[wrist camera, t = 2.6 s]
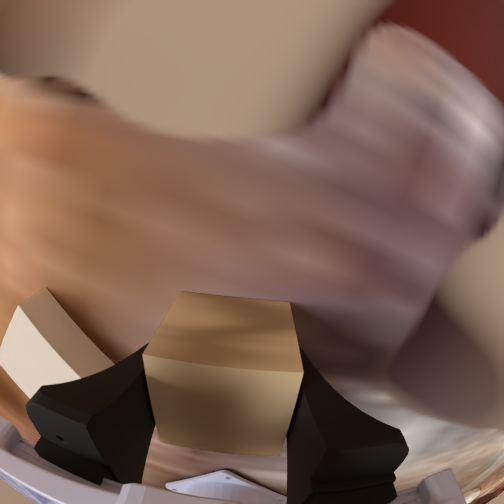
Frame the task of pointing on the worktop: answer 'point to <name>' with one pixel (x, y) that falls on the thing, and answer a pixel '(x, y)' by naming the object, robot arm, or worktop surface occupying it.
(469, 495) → the dish
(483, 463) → the worktop surface
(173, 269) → the worktop surface
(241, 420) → the brass cube
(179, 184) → the worktop surface
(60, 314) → the ceramic plinth
